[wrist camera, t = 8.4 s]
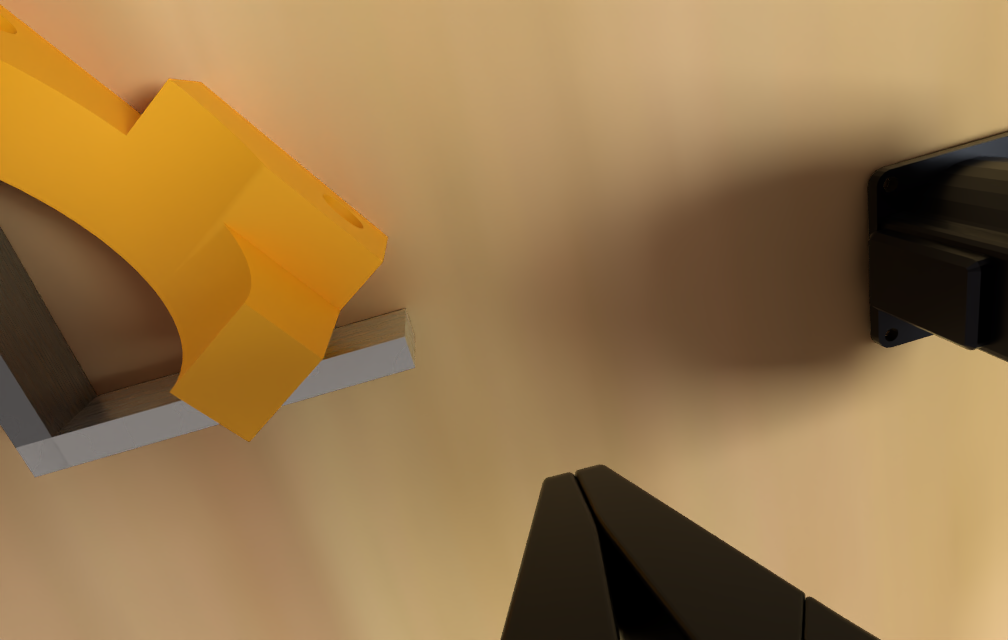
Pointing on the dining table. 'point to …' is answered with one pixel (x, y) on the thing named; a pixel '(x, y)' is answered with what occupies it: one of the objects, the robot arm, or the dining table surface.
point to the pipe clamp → (191, 221)
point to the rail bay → (143, 407)
